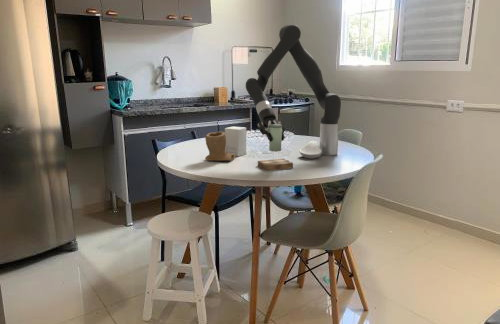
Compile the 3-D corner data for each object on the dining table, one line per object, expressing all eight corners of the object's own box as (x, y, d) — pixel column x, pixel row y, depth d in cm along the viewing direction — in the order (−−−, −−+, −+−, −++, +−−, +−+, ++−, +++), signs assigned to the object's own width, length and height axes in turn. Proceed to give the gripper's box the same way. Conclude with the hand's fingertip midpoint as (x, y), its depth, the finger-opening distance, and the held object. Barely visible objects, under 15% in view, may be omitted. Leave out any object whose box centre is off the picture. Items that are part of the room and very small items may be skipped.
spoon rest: (320, 161, 196) (320, 147, 195) (297, 159, 199) (298, 146, 198) (324, 151, 218) (324, 139, 217) (303, 150, 221) (304, 138, 220)
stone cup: (202, 163, 190) (201, 133, 186) (207, 157, 201) (207, 129, 198) (232, 164, 188) (232, 134, 185) (236, 158, 200) (235, 130, 196)
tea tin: (277, 148, 185) (278, 123, 182) (283, 151, 180) (284, 125, 177) (266, 149, 183) (267, 124, 180) (272, 151, 177) (273, 126, 174)
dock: (283, 163, 190) (283, 158, 189) (292, 167, 181) (293, 162, 181) (257, 165, 185) (257, 160, 184) (266, 170, 176) (266, 165, 175)
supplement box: (247, 153, 211) (247, 127, 208) (238, 156, 204) (238, 129, 200) (233, 152, 216) (233, 125, 212) (224, 154, 208) (224, 128, 205)
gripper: (255, 107, 179) (267, 136, 172) (280, 106, 186) (293, 134, 179) (250, 117, 185) (261, 145, 178) (275, 116, 192) (287, 143, 184)
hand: (277, 140), depth 178 cm, fingers closed on tea tin, 5 cm apart
